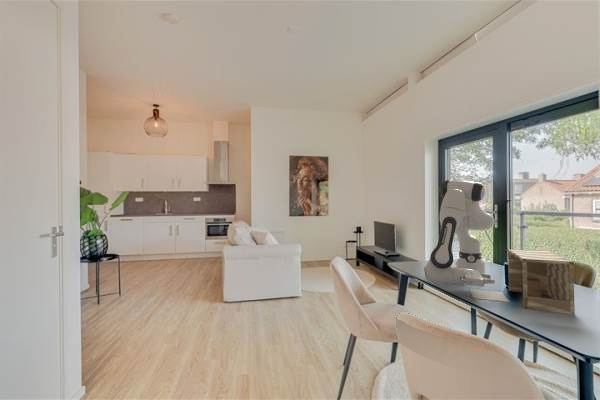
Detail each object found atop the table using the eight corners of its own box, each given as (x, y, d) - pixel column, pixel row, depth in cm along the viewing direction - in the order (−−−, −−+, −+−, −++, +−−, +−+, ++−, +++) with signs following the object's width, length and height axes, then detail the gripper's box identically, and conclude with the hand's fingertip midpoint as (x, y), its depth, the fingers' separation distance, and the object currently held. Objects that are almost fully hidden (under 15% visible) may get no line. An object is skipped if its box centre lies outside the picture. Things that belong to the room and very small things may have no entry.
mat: (469, 289, 144) (469, 289, 144) (502, 293, 138) (502, 292, 138) (473, 298, 132) (473, 297, 132) (509, 302, 126) (509, 301, 126)
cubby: (509, 290, 142) (507, 249, 142) (549, 294, 135) (548, 251, 135) (524, 308, 118) (523, 258, 118) (574, 314, 111) (573, 261, 111)
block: (523, 298, 131) (523, 276, 131) (537, 299, 129) (536, 277, 129) (526, 301, 126) (526, 279, 126) (540, 303, 124) (540, 280, 124)
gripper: (461, 274, 130) (496, 277, 125) (457, 266, 149) (488, 268, 143) (461, 287, 130) (497, 291, 124) (458, 277, 149) (488, 280, 143)
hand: (492, 279), depth 134 cm, fingers open, 8 cm apart
